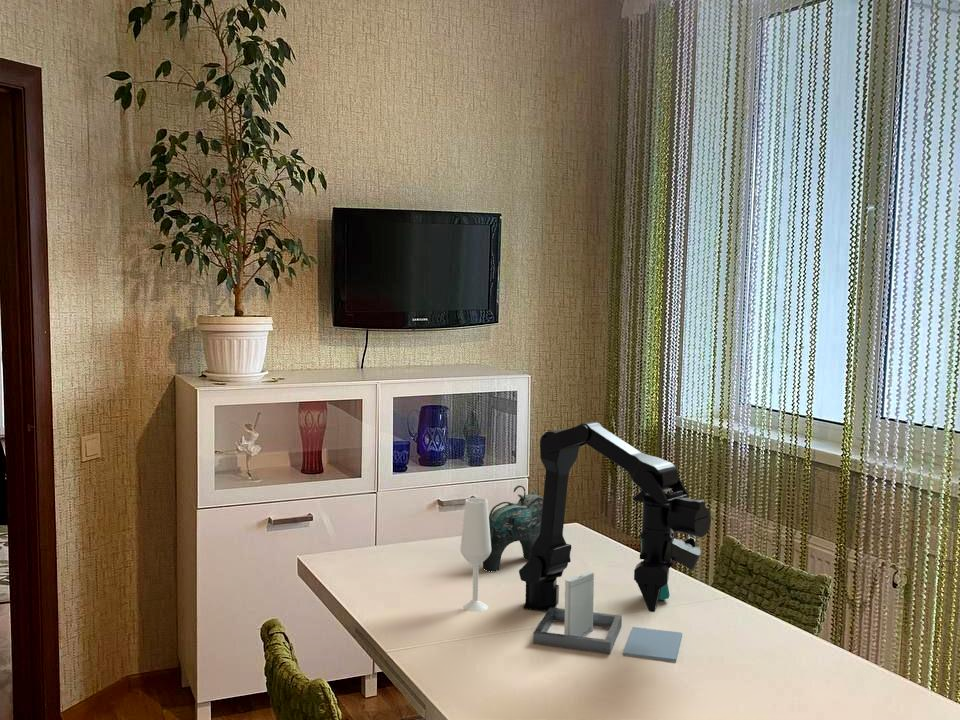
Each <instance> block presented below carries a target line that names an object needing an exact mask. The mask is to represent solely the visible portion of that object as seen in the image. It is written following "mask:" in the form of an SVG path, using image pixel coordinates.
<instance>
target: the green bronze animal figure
mask: <svg viewBox="0 0 960 720" xmlns="http://www.w3.org/2000/svg"><path fill="white" fill-rule="evenodd" d="M518 488H522V489H523V491H524V492H523V493H524V494H520V493H519V494H517V496H518V497H519V500H518V501H517V502H516V503H513V502H509V501H502V502H500V503H498V504H496V505H495V506H493V507H492V508H491V510H490V512H489V526H490V538H491V553H490V555H489V557H488V558H487V559H486V560H485V561H484V562H483V563H482V570H483V569H485V570H487V571H486V572H488V571H490V572H489V573H492V572H491V571H495V572H497V571H496V570H498V571H500V570H499V569H500V565H501V558H502V557H503V556H502V555H503V553H504V551H505V549H506V548H507V547H508V546H509V545H510V544H512V543H515V542H519V543H520V546H521V548H522V554H523V559H524V558H525V559H524V560H526V559H527V560H526V561H529V557H530V553H531V549H532V546H533V544H534V542H535V541H536V539H537V537H538V536H539V534H540V526H541V516H542V505H543V496H539V495H538V494H537V491H536V490H535V489H534V488H532V492H531V493H527V494H526V488H525V486H522V485H516V486H515V487H514V489H513V493H516V490H518ZM503 504H505V505H503ZM502 505H503V506H502ZM499 506H501V507H499ZM496 508H497V509H496ZM485 570H484V571H485Z"/></svg>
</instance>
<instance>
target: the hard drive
mask: <svg viewBox="0 0 960 720" xmlns="http://www.w3.org/2000/svg"><path fill="white" fill-rule="evenodd" d="M594 577H595V572H594V571H585V572H583V573H580V574H577V575H574V576H572V577H569V578H566V579H565V580H564V581H565V582H564V584H565V585H564V609H565V622H564V629H563V630H564V633H563V634H564V635H572V636H580V637H585V636H586V635H588V634H590V633H593V631H594V625H593V612H594V596H595V595H594V593H595V585H594V583H595V581H594V580H595V578H594Z"/></svg>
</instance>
